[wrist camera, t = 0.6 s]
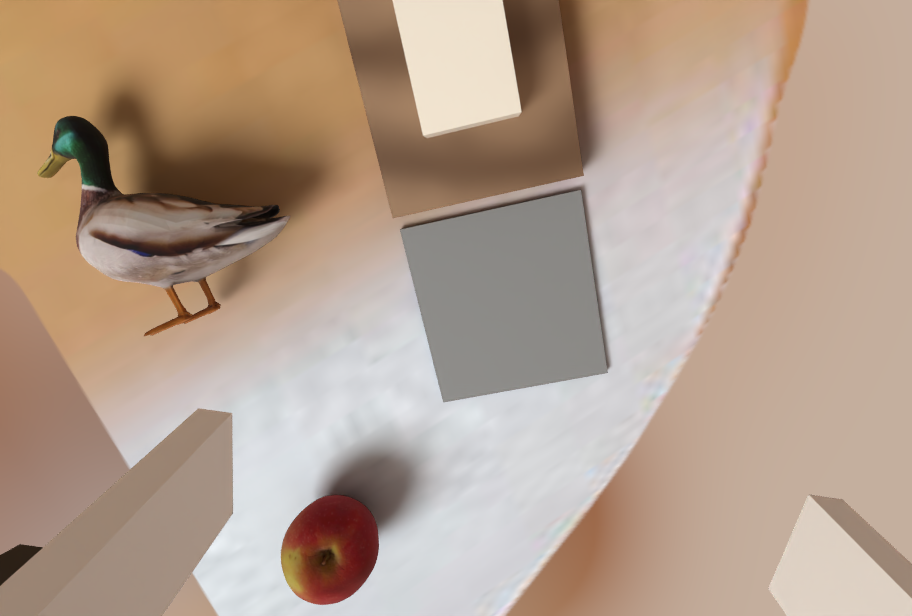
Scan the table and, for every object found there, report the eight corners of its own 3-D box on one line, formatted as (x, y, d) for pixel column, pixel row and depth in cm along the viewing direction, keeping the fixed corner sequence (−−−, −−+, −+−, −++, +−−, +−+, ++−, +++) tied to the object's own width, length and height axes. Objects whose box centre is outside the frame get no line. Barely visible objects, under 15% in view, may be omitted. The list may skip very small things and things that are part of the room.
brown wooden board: (316, -109, 29) (305, -128, 27) (526, -172, 28) (530, -197, 26) (397, 215, 34) (392, 218, 33) (577, 175, 33) (583, 175, 31)
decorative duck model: (-40, 131, 28) (167, 16, 25) (75, 147, 35) (245, 59, 33) (84, 361, 30) (286, 278, 28) (168, 331, 38) (334, 263, 35)
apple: (407, 520, 42) (391, 599, 34) (338, 562, 44) (308, 646, 36) (351, 458, 40) (322, 526, 33) (282, 504, 42) (238, 579, 34)
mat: (400, 229, 35) (400, 229, 34) (579, 189, 33) (580, 189, 33) (443, 400, 38) (443, 402, 38) (606, 370, 37) (607, 372, 37)
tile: (392, -17, 29) (384, -34, 26) (490, -45, 28) (491, -64, 26) (427, 138, 31) (422, 135, 29) (518, 116, 30) (521, 112, 28)
